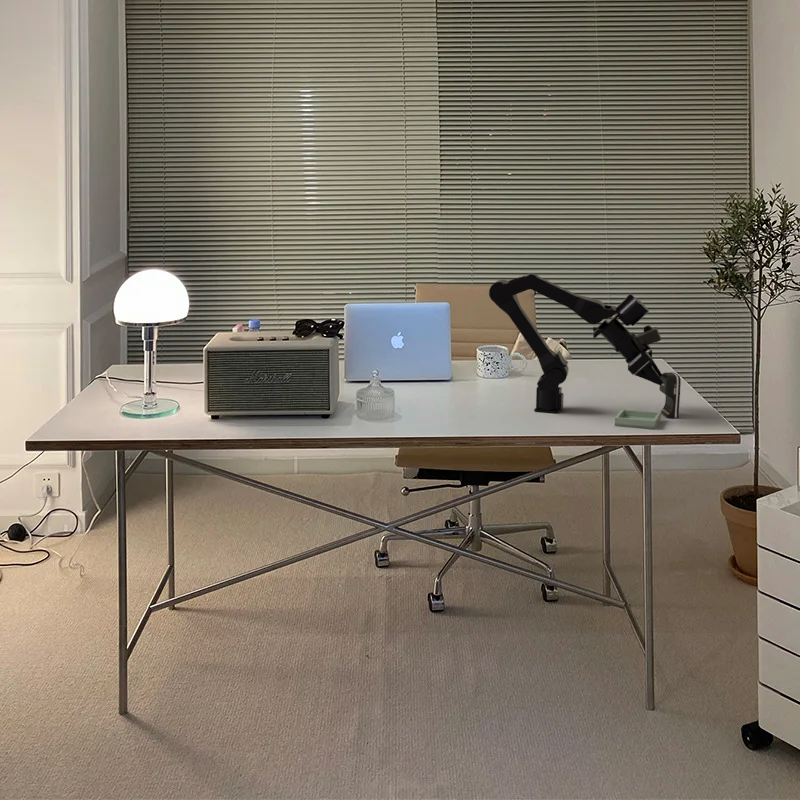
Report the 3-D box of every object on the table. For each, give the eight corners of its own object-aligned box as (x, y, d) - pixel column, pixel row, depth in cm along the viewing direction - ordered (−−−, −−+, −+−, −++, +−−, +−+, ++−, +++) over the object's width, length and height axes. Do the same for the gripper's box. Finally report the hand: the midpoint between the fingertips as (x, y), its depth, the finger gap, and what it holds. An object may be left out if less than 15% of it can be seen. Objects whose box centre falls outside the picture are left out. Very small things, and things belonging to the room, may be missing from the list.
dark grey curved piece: (656, 412, 280) (659, 370, 277) (670, 412, 280) (673, 370, 278) (664, 419, 273) (667, 376, 271) (679, 418, 273) (681, 375, 271)
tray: (614, 425, 266) (614, 417, 266) (621, 417, 275) (622, 409, 275) (654, 429, 263) (654, 421, 262) (660, 420, 272) (661, 412, 271)
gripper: (642, 322, 264) (686, 366, 264) (643, 312, 281) (684, 353, 281) (610, 352, 267) (652, 396, 267) (612, 340, 285) (652, 381, 285)
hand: (661, 380), depth 275 cm, fingers open, 9 cm apart
